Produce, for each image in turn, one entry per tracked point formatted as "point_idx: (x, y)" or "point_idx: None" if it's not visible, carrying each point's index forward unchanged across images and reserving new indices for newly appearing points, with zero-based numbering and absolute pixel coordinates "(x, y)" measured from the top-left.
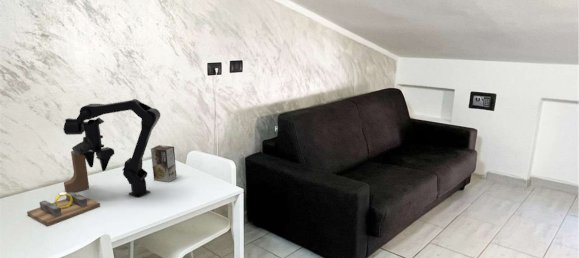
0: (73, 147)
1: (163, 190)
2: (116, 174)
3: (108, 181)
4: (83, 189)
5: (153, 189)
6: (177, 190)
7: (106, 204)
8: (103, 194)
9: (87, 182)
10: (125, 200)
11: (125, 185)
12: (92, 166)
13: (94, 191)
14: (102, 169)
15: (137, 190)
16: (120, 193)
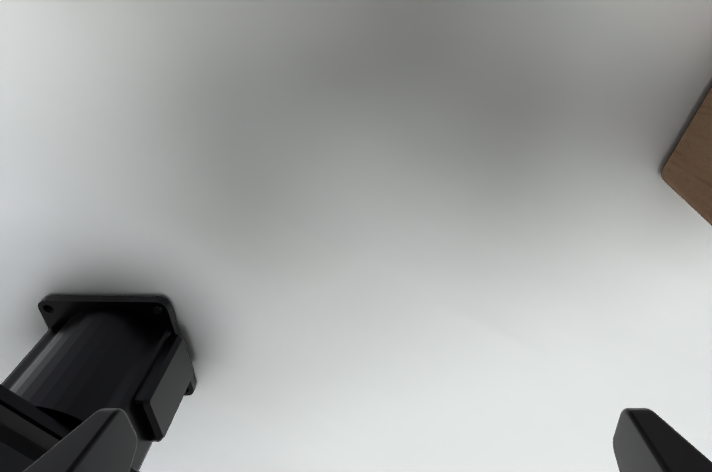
0: None
1: None
2: None
3: (625, 364)
4: (695, 116)
5: None
6: None
7: (53, 49)
8: (356, 177)
9: (707, 206)
10: (46, 212)
11: (391, 379)
12: (615, 450)
13: (526, 167)
14: (77, 437)
15: (44, 350)
16: (248, 273)
